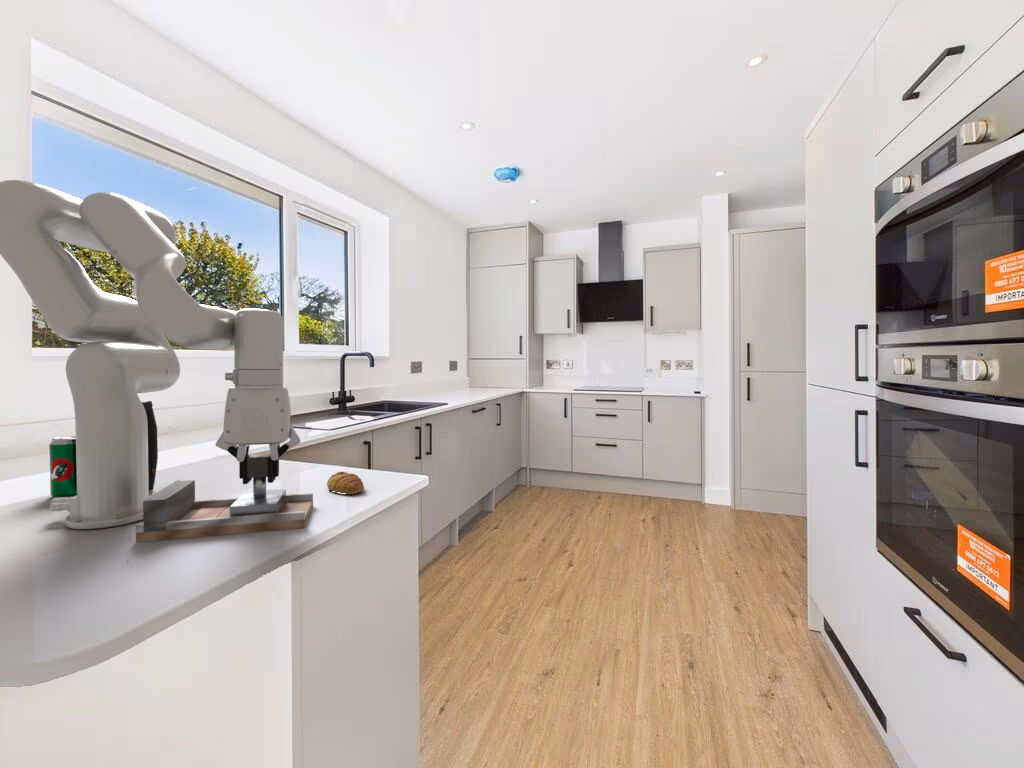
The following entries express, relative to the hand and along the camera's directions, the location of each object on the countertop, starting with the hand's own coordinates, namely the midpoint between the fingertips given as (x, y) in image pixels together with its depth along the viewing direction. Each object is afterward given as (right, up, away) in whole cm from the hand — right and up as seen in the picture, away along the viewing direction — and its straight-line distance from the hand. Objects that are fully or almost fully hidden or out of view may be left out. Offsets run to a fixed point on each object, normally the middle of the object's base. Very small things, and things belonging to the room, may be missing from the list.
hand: (259, 480), depth 79 cm
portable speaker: (-36, -6, +15) cm, 40 cm away
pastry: (+8, -7, +21) cm, 23 cm away
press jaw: (0, -5, 0) cm, 5 cm away
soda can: (-47, -6, +12) cm, 49 cm away
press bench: (-4, -7, -1) cm, 8 cm away
